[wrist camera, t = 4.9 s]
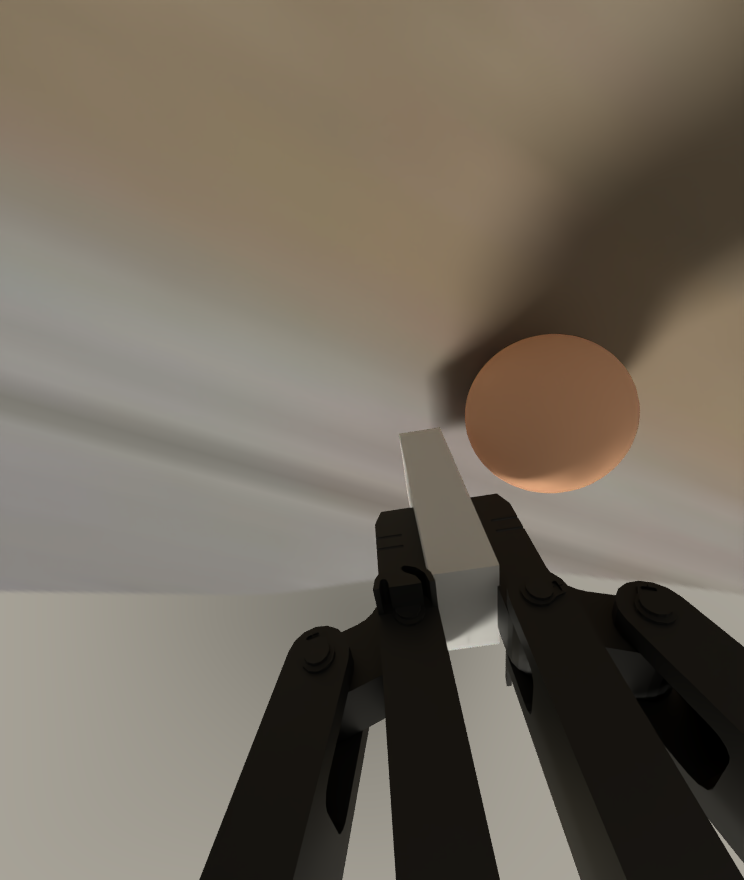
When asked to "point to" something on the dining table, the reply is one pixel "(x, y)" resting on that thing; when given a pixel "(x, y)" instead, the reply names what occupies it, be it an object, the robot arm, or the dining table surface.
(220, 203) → the dining table surface
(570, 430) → the orange sphere
